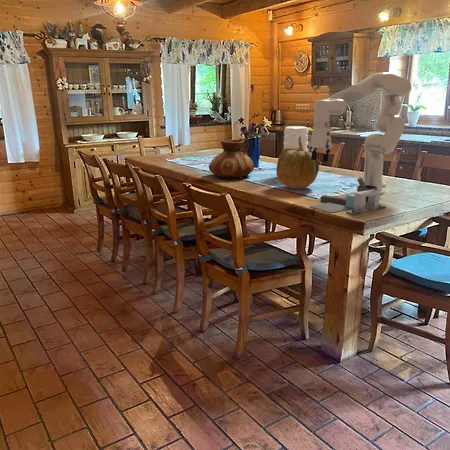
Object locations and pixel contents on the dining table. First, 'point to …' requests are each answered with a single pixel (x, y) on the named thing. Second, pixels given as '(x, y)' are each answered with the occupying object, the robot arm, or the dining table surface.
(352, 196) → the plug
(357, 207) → the housing
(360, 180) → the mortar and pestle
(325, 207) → the mat
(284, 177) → the pumpkin
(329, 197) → the lead
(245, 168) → the jug
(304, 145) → the vase
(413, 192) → the dining table surface
